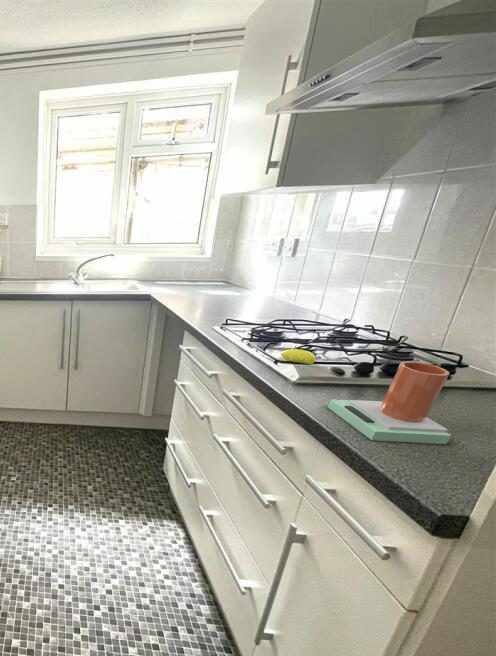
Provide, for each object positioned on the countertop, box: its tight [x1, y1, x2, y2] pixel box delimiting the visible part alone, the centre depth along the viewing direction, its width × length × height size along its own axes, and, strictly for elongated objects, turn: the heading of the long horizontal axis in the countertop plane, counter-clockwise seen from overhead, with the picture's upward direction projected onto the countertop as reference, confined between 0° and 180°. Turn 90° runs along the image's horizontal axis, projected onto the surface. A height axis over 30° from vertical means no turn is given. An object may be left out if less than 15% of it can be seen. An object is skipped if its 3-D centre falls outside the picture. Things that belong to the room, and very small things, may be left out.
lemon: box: [280, 348, 317, 365], centre depth 114 cm, size 4×8×4 cm, turn 58°
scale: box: [327, 399, 452, 445], centre depth 83 cm, size 13×13×3 cm
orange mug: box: [380, 360, 450, 423], centre depth 80 cm, size 7×7×10 cm
